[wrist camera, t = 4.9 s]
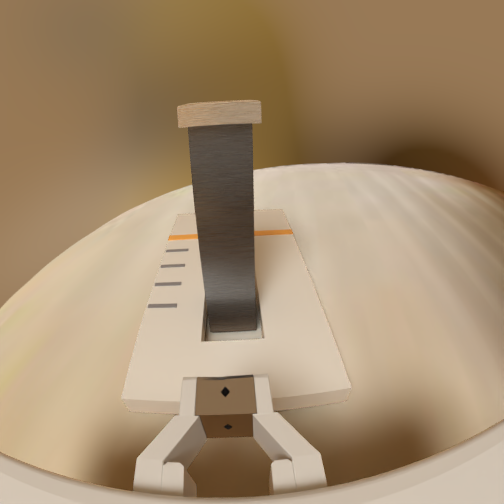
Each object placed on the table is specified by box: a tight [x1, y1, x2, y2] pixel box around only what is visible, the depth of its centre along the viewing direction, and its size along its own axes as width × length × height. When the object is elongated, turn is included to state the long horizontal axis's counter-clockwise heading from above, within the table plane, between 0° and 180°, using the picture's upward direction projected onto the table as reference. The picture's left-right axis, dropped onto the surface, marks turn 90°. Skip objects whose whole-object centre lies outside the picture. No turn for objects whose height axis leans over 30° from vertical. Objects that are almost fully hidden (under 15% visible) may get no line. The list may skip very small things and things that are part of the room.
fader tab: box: [177, 100, 261, 332], centre depth 20 cm, size 4×4×16 cm
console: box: [121, 209, 352, 414], centre depth 28 cm, size 28×14×2 cm, turn 4°
